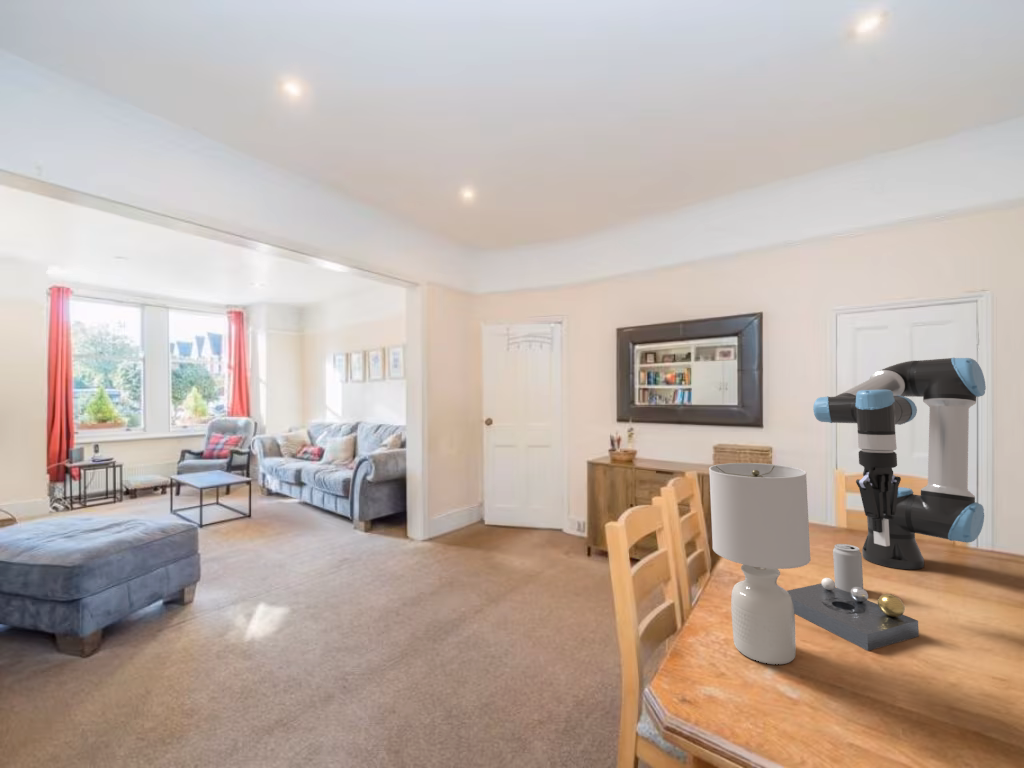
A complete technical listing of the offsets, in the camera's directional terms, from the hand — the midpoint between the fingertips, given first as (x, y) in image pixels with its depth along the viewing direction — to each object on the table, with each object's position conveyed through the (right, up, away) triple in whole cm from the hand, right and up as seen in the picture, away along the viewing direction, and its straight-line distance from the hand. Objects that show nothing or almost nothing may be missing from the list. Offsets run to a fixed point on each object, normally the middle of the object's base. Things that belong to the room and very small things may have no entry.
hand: (881, 544), depth 114 cm
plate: (-12, -17, -4) cm, 21 cm away
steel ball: (-7, -12, -2) cm, 14 cm away
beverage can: (0, -17, +12) cm, 21 cm away
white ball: (-10, -12, +5) cm, 16 cm away
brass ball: (-6, -11, -9) cm, 15 cm away
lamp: (-38, -18, -15) cm, 45 cm away
